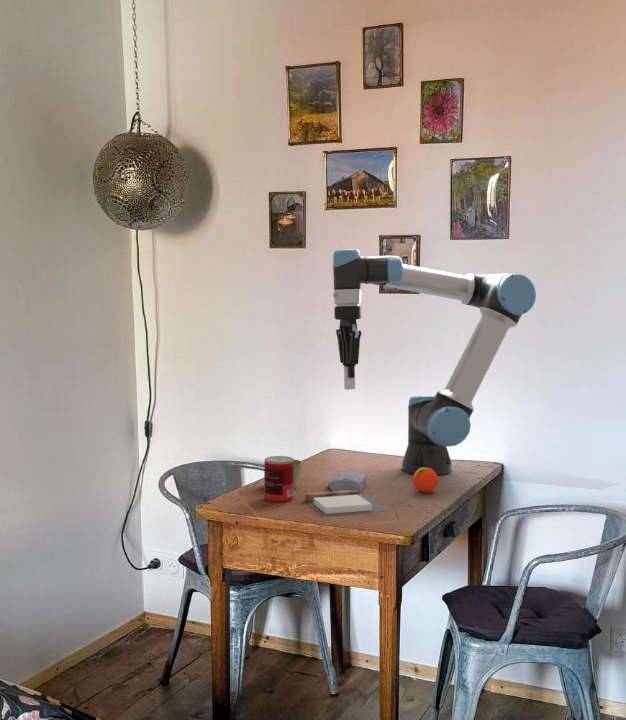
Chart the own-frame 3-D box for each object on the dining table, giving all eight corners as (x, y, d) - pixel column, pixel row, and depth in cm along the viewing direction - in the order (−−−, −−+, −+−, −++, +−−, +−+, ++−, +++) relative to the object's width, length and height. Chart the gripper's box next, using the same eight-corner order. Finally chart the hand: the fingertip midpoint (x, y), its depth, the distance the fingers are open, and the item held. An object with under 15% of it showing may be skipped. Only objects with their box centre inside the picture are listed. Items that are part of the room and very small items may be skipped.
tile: (357, 494, 215) (371, 504, 205) (357, 501, 215) (371, 511, 206) (313, 497, 211) (325, 507, 202) (313, 504, 212) (325, 514, 202)
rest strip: (355, 497, 219) (355, 489, 219) (358, 499, 217) (358, 491, 217) (305, 500, 215) (305, 493, 215) (307, 502, 213) (307, 495, 213)
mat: (368, 496, 221) (368, 495, 221) (392, 511, 206) (392, 510, 206) (304, 501, 216) (304, 500, 216) (323, 517, 201) (323, 516, 201)
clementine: (423, 497, 221) (424, 471, 220) (404, 492, 226) (404, 466, 225) (443, 492, 226) (443, 467, 226) (423, 488, 231) (424, 463, 231)
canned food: (291, 495, 222) (291, 455, 221) (295, 503, 214) (296, 461, 213) (262, 496, 220) (262, 456, 219) (266, 504, 212) (266, 462, 212)
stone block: (328, 499, 226) (364, 493, 224) (325, 482, 226) (361, 476, 224) (334, 490, 238) (368, 485, 236) (331, 474, 238) (365, 468, 236)
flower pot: (268, 483, 236) (268, 458, 235) (303, 483, 236) (303, 458, 235) (264, 491, 226) (264, 465, 226) (301, 492, 226) (301, 466, 225)
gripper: (326, 305, 236) (329, 387, 239) (344, 306, 224) (346, 392, 226) (351, 304, 239) (353, 385, 241) (369, 305, 227) (371, 390, 229)
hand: (349, 388), depth 234 cm, fingers closed
